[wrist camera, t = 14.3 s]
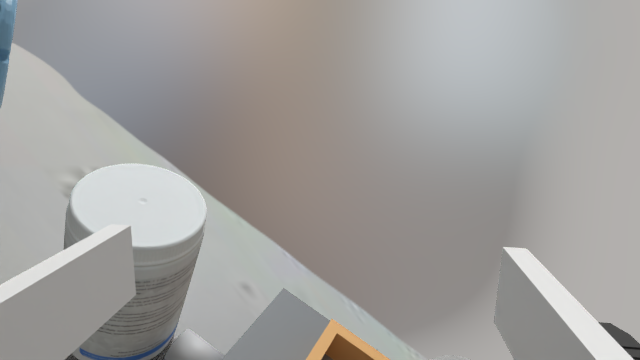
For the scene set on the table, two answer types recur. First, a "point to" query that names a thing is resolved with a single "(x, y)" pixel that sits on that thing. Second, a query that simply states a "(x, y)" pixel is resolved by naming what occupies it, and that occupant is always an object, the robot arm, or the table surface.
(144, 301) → the supplement tub
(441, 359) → the disposable coffee cup
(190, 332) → the grey platform
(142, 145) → the table surface
